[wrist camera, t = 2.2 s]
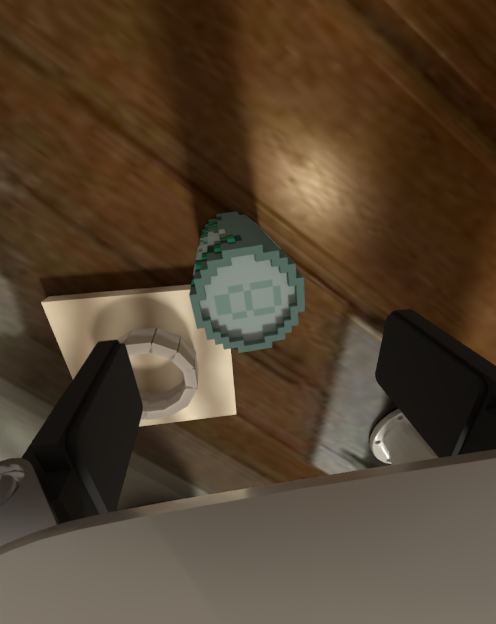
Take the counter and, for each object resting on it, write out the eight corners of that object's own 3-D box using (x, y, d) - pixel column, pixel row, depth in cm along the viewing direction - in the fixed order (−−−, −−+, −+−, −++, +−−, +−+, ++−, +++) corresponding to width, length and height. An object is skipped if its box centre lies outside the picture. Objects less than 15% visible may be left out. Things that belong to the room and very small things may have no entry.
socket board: (224, 281, 30) (226, 297, 26) (235, 405, 38) (238, 432, 34) (49, 296, 28) (22, 316, 24) (98, 422, 36) (84, 453, 32)
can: (195, 217, 27) (179, 257, 13) (257, 208, 27) (302, 238, 14) (207, 276, 30) (204, 358, 16) (263, 267, 30) (305, 341, 17)
